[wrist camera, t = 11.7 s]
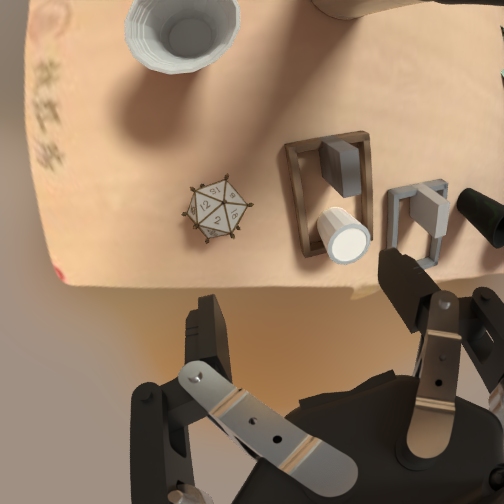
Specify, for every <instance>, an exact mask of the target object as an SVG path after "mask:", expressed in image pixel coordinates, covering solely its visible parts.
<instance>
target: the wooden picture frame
mask: <svg viewBox="0 0 504 504" xmlns="http://www.w3.org/2000/svg"><path fill="white" fill-rule="evenodd" d="M355 142H358V148H359V150H358V148H356V147H354V146H352V145H351V144H349V143H355ZM285 149H286V154H287V160H288V166H289V172H290V178H291V184H292V190H293V196H294V202H295V208H296V215H297V221H298V228H299V235H300V242H301V249H302V253H303V255H304V257H305V258H308V257H312V256H315V255H319V254H323V253H327V251H326V248H325V246H324V244H323V241H320V242H316V243H312V244H310V243H309V234H308V227H307V219H306V212H305V204H304V197H303V190H302V184H301V177H300V171H299V164H298V158H297V153H300V152H305V151H310V150H315V149H319V154H320V162H321V170H322V177H323V178H324V179H325V180H326V181H327V182H328V183H329V184H330V185H331V186H332V187H333V188H334V189H335V190H336V191H337V192H338V193H339V194H340V195H341V196H342V197H343V198H346V197H351V196H355V195H360V194H361V193H362V224H363V226H364V227H366V228H367V229H368V231H369V234H370V241H372V240H373V189H372V165H371V149H370V136H369V133H367V132H365V131H357V132H350V133H344V134H338V135H331V136H326V137H320V138H314V139H309V140H303V141H298V142H293V143H288V144H285ZM359 160H360V163H359ZM360 175H361V178H360Z"/></svg>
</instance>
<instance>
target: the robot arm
mask: <svg viewBox="0 0 504 504" xmlns="http://www.w3.org/2000/svg"><path fill="white" fill-rule="evenodd" d="M311 1H312V2H313V3H314V5H315V6H316V7H317V8H318V9H319V10H321V11H322V12H324V13H325V14H327V15H329V16H331V17H333V18H337V19H344V20H347V19H354V18H358V17H362V16H364V15H368V14H372V13H376V12H380V11H384V10H388V9H393V8H397V7H402V6H407V5H412V4H418V3H423V2H430V1H435V2H437V3H441V4H480V5H495V6H504V0H311ZM378 281H379V284H380V286H381V288H382V290H383V291H384V293H385V294H386V295H387V297H388V298H389V300H390V301H391V303H392V304H393V306H394V308H395V309H396V311H397V312H398V314H399V315H400V317H401V318H402V320H403V321H404V323H405V324H406V326H407V328H408V329H409V330H410V332H411V334H412V333H415V332H417V331H420V333H421V338H420V342H419V349H418V353H417V358H416V363H415V368H414V372H413V375H412V376H408V375H395V373H394V371H393V370H390V371H387V372H385V373H382V374H379V375H377V376H374V377H371V378H370V379H368V380H367V381H365V382H363V383H362V384H360V385H359V386H357V387H356V388H354V389H352V390H351V391H345V392H334V393H322V394H319V395H316V396H312V397H308V398H305V399H301V400H299V404H300V407H298V408H296V409H294V410H293V411H291V412H290V413H289V414H288V415H286V416H285V417H284V418H283V417H282V416H281V415H279V414H278V413H276V412H275V411H273V410H272V409H270V408H269V407H268V406H266V405H265V404H264V403H262V402H261V401H260V400H258V399H257V398H256V397H254V396H253V395H252V394H250V393H249V392H248V391H246V390H244V389H238V388H236V387H235V386H234V385H233V383H232V375H231V367H230V357H229V348H228V338H227V329H226V324H225V320H224V317H223V314H222V312H221V309H220V306H219V304H218V301H217V299H216V297H215V295H214V294H212V295H207V296H203V297H199V298H198V309H197V310H192V311H190V313H189V315H188V317H187V319H186V331H185V336H186V338H185V365H184V366H183V367H182V369H181V370H180V372H179V374H178V377H176V378H175V379H173V380H172V381H170V382H167V383H165V384H163V385H161V386H158V385H157V384H155V383H153V382H147V383H143V384H141V385H139V386H138V387H137V388H136V389H135V390H134V392H133V394H132V398H131V421H130V480H131V501H132V504H214V503H213V500H212V498H211V497H210V496H209V494H207V493H206V492H204V491H202V490H200V489H198V488H196V487H195V483H194V476H193V468H192V460H191V452H190V442H189V433H188V425H189V424H191V423H193V422H196V421H198V420H200V419H202V418H204V417H207V418H208V419H209V420H210V421H211V422H212V423H213V424H214V425H216V426H217V427H218V428H219V429H220V430H221V431H222V432H223V433H224V434H225V435H227V436H228V437H229V438H230V439H231V440H232V441H233V442H234V443H235V444H236V445H237V446H238V447H239V448H240V449H242V450H243V451H244V452H245V453H246V454H248V455H249V456H250V457H251V458H252V459H253V460H255V461H256V462H257V463H256V465H255V466H254V468H253V470H252V471H251V473H250V475H249V476H248V478H247V480H246V481H245V483H244V484H243V486H242V487H241V489H240V491H239V492H238V494H237V495H236V497H235V499H234V500H233V502H232V503H231V504H504V303H503V302H502V301H501V299H500V298H499V297H498V296H497V294H496V293H495V292H494V291H493V290H491V289H489V288H487V287H479V288H476V289H475V290H474V292H473V295H472V297H462V298H457V296H456V295H455V294H453V293H452V292H449V291H446V290H441V289H440V288H439V287H438V286H437V285H436V283H435V282H434V281H433V280H432V279H431V277H430V276H429V275H428V274H427V273H426V272H425V271H424V269H423V268H422V267H420V265H419V264H418V263H417V262H416V260H415V259H413V258H411V257H410V256H408V255H406V254H405V255H402V254H401V253H400V252H399V251H398V250H397V249H396V248H395V247H392V248H389V249H385V250H382V251H380V252H379V264H378ZM486 330H487V331H488V333H489V334H490V336H491V337H492V339H493V341H494V343H493V341H492V340H491V338H490V337H489V335H488V333H487V332H486ZM461 343H462V345H463V347H464V348H465V350H466V352H467V353H468V355H469V357H470V359H471V360H472V362H473V363H474V366H475V367H476V369H477V371H478V373H479V374H480V376H481V378H482V380H483V382H484V384H485V386H486V387H487V389H488V391H489V393H490V396H489V410H487V409H485V408H482V407H480V406H478V405H476V404H473V403H471V402H469V401H467V400H465V399H462V398H460V397H458V396H456V389H457V381H458V373H459V363H460V351H461Z"/></svg>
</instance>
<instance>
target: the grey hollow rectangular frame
mask: <svg viewBox="0 0 504 504" xmlns="http://www.w3.org/2000/svg"><path fill="white" fill-rule="evenodd" d="M435 191H437V193H436V192H435ZM447 191H448V183H447V182H446V181H444V180H442V179H438V180H433V181H428V182H423V183H418V184H413V185H409V186H404V187H399V188H394V189H390V190H388V227H387V249H389V248H392V247H395V248H396V249H397V237H398V218H399V199H402V198H406V197H410V217H411V218H413V219H414V220H415V221H416V222H417V223H418V224H419V225H420V226H422V227H423V228H424V229H425V230H426V231H427V232H428V233H429V234H430V235H431V236H432V242H431V249H430V255H429V257H427V258H424V259H421V260H418V261H416V262H417V263H418V264H419V265H420V267H422V268H423V269H427V268H430V267H432V266H435V265H437V264H438V258H439V253H440V247H441V241H442V236H445V235H446V231H447V224H448V216H449V208H450V202H449V201H448V200H447Z"/></svg>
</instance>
